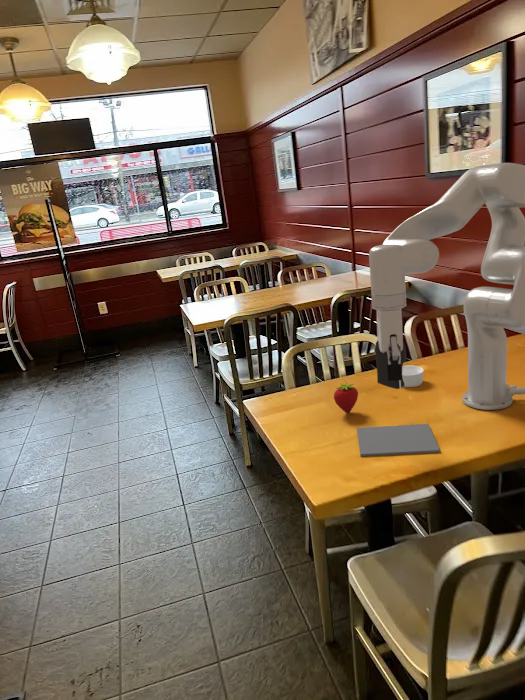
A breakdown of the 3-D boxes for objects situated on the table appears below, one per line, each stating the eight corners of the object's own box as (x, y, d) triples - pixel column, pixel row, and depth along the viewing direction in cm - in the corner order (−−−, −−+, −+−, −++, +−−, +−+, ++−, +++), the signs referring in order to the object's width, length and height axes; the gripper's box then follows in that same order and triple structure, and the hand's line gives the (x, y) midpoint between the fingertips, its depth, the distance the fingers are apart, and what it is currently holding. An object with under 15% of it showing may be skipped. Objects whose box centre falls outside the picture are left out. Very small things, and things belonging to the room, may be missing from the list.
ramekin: (427, 379, 163) (427, 366, 162) (419, 389, 156) (418, 376, 155) (399, 376, 168) (399, 364, 167) (390, 386, 161) (389, 373, 160)
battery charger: (409, 386, 122) (408, 339, 118) (398, 390, 120) (396, 343, 116) (387, 379, 127) (385, 334, 124) (376, 383, 125) (374, 338, 122)
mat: (428, 425, 132) (428, 423, 132) (440, 452, 119) (439, 450, 119) (356, 430, 135) (356, 427, 135) (360, 456, 122) (360, 454, 122)
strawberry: (330, 415, 146) (327, 381, 143) (348, 406, 150) (346, 373, 147) (345, 420, 141) (343, 386, 138) (364, 411, 146) (362, 377, 143)
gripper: (368, 294, 126) (373, 364, 131) (375, 310, 109) (380, 389, 115) (400, 291, 125) (403, 361, 130) (412, 307, 108) (415, 387, 114)
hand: (392, 374), depth 122 cm, fingers closed on battery charger, 6 cm apart
